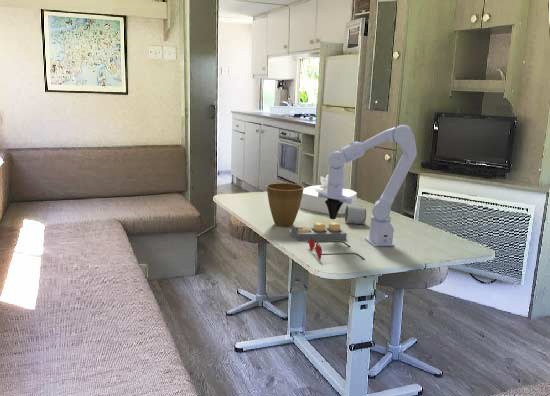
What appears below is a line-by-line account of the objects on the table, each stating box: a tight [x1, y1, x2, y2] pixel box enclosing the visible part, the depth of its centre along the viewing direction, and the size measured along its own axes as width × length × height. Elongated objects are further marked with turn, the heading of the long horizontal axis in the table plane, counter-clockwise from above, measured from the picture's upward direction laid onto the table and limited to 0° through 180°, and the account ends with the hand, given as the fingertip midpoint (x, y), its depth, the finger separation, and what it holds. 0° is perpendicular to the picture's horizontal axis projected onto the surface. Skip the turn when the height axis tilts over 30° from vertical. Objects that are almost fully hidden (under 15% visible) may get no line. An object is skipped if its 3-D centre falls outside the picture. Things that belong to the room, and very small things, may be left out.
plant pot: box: [266, 182, 305, 228], centre depth 205 cm, size 15×15×16 cm
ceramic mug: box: [344, 205, 367, 225], centre depth 215 cm, size 11×8×8 cm
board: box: [289, 226, 348, 241], centre depth 194 cm, size 13×19×2 cm
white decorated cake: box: [299, 174, 358, 215], centre depth 241 cm, size 25×25×16 cm
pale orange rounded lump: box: [298, 226, 310, 233], centre depth 191 cm, size 4×4×3 cm
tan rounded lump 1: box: [312, 221, 326, 232], centre depth 192 cm, size 4×4×3 cm
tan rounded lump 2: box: [328, 221, 341, 232], centre depth 193 cm, size 4×4×3 cm
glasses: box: [306, 237, 366, 261], centre depth 173 cm, size 14×16×5 cm
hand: (332, 218), depth 192 cm, fingers closed
